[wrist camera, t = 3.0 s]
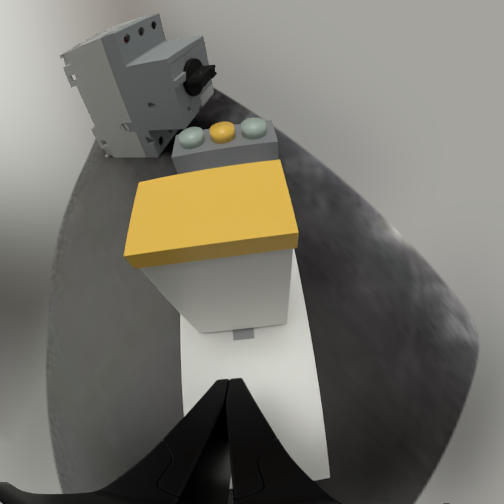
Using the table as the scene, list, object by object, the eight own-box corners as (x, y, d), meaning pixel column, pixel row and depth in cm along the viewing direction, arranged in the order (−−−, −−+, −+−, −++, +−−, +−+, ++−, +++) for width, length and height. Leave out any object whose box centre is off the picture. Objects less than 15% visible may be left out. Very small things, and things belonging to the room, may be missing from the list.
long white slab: (325, 471, 12) (351, 503, 6) (198, 481, 12) (159, 513, 7) (273, 171, 24) (270, 111, 19) (191, 182, 25) (173, 127, 19)
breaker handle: (288, 324, 15) (298, 232, 8) (197, 334, 15) (123, 256, 8) (280, 274, 17) (279, 159, 9) (196, 284, 17) (138, 182, 9)
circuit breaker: (209, 159, 26) (176, 15, 14) (106, 157, 29) (58, 56, 16) (232, 120, 30) (213, 2, 17) (135, 123, 33) (102, 30, 20)
